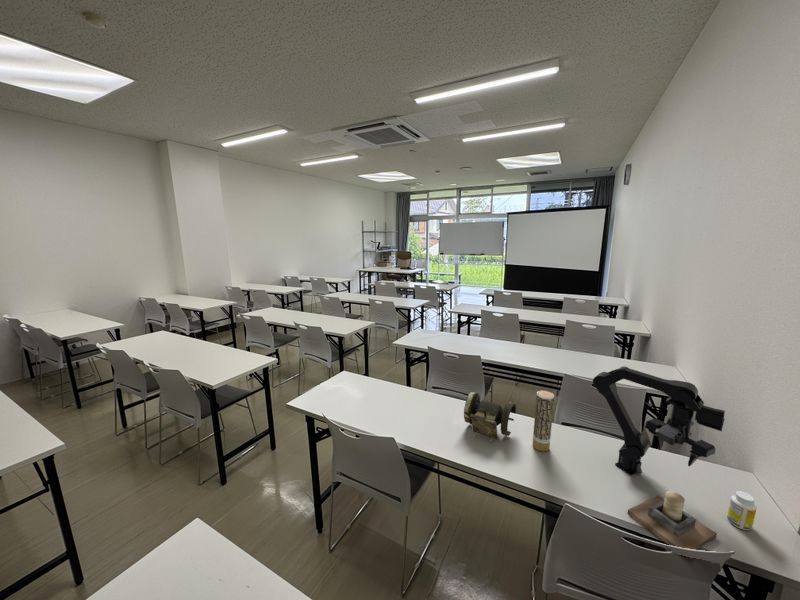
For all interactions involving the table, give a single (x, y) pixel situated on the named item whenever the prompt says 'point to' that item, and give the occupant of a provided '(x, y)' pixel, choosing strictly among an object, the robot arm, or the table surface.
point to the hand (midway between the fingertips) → (674, 457)
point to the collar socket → (671, 525)
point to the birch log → (543, 420)
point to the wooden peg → (673, 506)
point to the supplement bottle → (742, 510)
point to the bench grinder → (487, 416)
